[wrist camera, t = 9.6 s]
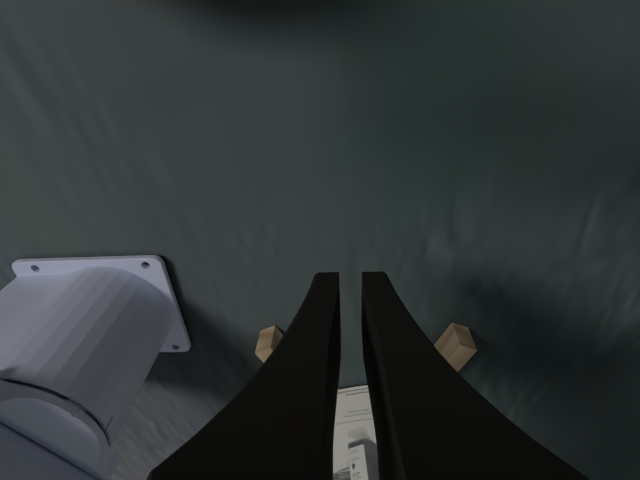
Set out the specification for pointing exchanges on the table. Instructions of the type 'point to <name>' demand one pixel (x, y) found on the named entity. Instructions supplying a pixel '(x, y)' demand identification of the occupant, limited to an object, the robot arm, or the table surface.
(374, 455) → the ink box
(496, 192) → the table surface
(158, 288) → the robot arm
